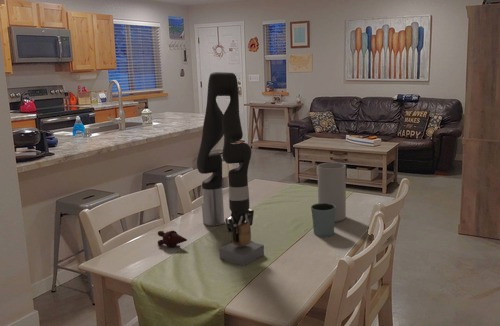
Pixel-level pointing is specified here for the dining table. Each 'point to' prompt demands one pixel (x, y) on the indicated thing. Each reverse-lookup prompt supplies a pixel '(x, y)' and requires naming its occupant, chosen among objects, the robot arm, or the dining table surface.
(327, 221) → the blue gray cup
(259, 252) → the slate base
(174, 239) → the dark brown animal figure
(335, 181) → the cylinder vase
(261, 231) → the dining table surface
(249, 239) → the walnut block
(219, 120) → the robot arm
